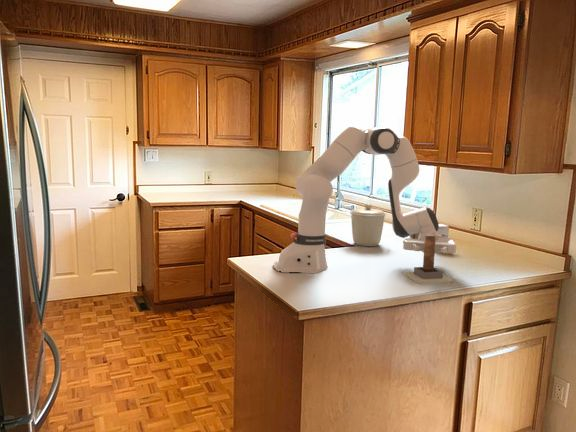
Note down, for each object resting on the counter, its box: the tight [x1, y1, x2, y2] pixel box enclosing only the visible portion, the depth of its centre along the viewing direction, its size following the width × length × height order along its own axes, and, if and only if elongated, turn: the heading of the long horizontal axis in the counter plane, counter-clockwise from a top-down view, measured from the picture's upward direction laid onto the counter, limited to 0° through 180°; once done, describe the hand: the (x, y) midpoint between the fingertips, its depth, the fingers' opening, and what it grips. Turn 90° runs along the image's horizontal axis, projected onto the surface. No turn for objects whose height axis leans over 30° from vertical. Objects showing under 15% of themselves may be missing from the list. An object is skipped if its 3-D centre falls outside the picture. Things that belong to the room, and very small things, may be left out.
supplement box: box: [437, 223, 450, 237], centre depth 239 cm, size 7×7×13 cm
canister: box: [349, 203, 387, 247], centre depth 247 cm, size 18×18×21 cm
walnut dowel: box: [422, 235, 436, 272], centre depth 189 cm, size 4×4×16 cm
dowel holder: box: [404, 266, 453, 285], centre depth 190 cm, size 14×12×4 cm
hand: (429, 250), depth 187 cm, fingers open, 8 cm apart
